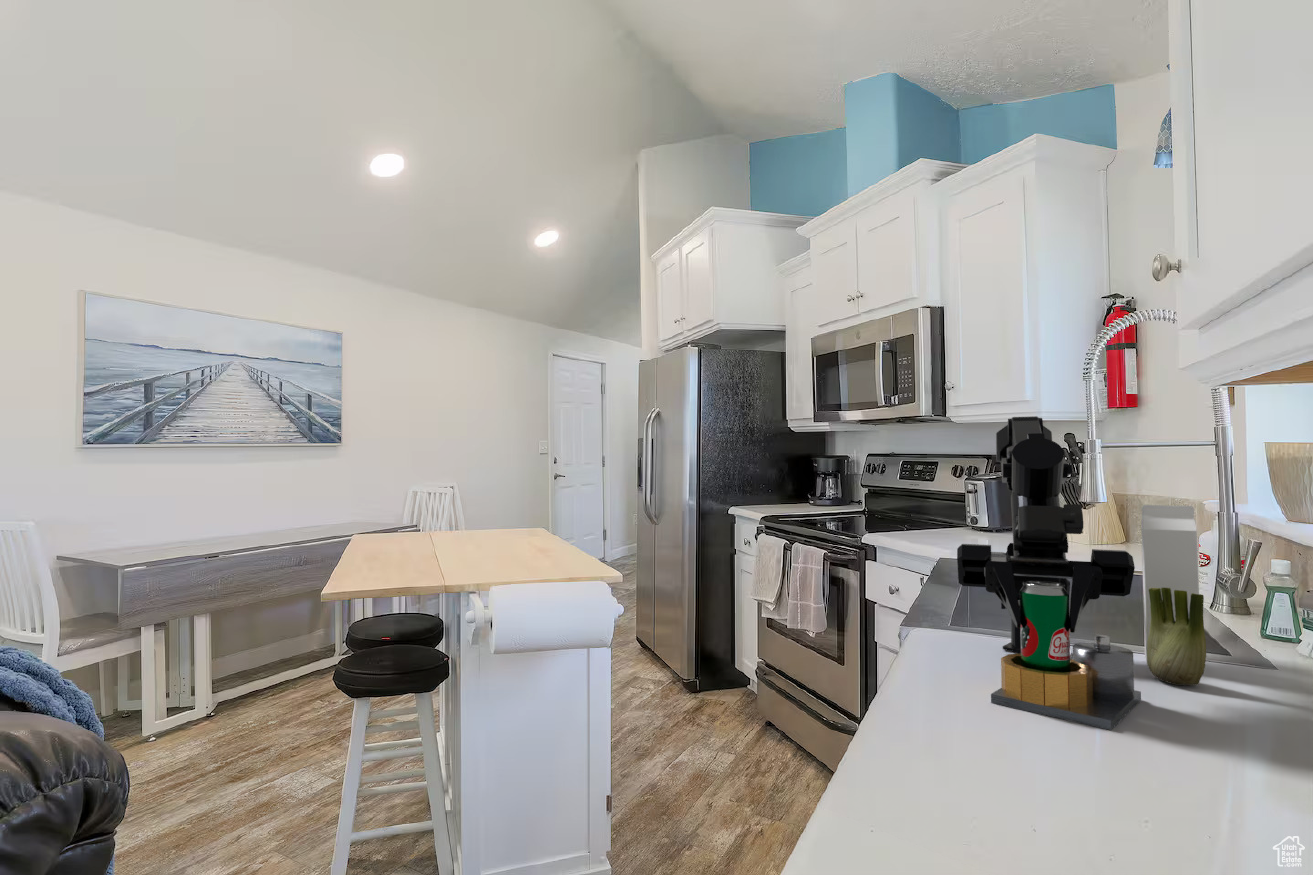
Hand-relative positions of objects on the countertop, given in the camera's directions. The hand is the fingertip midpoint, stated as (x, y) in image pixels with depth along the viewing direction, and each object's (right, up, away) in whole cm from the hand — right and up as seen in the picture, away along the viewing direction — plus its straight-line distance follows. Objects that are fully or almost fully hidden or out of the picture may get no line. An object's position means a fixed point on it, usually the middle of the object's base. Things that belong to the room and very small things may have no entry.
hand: (1045, 628), depth 81 cm
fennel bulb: (+21, -9, +8) cm, 25 cm away
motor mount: (+3, -9, +1) cm, 10 cm away
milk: (+27, -10, +17) cm, 33 cm away
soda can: (+1, -7, +1) cm, 7 cm away
